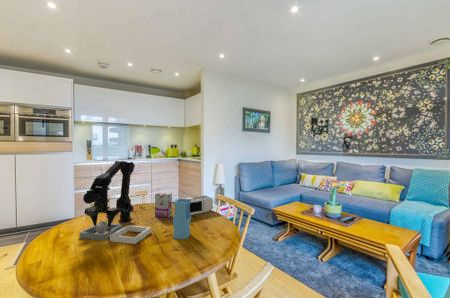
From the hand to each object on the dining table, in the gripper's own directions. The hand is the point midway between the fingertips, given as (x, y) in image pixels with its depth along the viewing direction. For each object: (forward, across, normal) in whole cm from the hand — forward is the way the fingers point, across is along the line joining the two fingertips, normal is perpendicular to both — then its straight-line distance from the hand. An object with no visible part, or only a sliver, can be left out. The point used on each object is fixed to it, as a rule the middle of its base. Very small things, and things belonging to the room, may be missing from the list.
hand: (102, 226), depth 123 cm
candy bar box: (+5, +20, +35) cm, 40 cm away
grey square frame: (+4, 0, 0) cm, 4 cm away
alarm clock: (+5, +39, +47) cm, 61 cm away
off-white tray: (+4, +19, 0) cm, 19 cm away
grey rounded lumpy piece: (+4, 0, 0) cm, 5 cm away
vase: (+4, +46, +7) cm, 47 cm away
